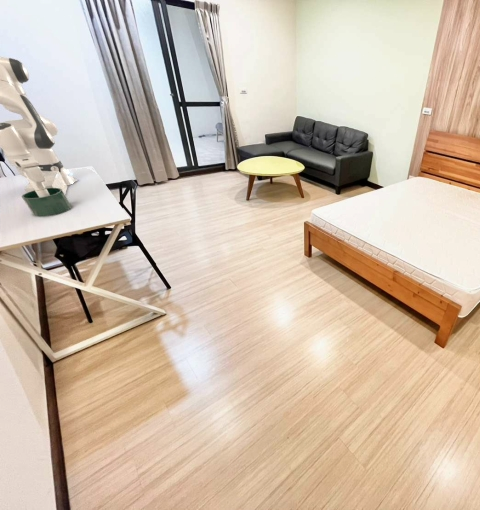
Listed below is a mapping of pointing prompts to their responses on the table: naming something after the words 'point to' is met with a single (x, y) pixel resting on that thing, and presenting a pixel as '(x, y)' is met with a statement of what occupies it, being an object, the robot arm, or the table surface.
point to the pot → (47, 202)
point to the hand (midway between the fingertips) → (39, 187)
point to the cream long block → (51, 181)
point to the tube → (39, 192)
